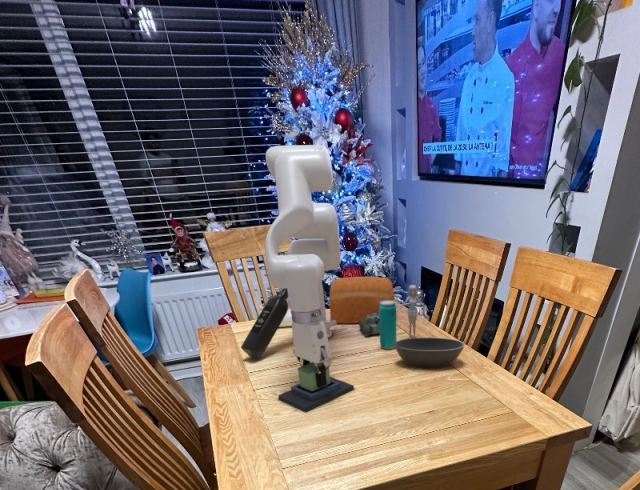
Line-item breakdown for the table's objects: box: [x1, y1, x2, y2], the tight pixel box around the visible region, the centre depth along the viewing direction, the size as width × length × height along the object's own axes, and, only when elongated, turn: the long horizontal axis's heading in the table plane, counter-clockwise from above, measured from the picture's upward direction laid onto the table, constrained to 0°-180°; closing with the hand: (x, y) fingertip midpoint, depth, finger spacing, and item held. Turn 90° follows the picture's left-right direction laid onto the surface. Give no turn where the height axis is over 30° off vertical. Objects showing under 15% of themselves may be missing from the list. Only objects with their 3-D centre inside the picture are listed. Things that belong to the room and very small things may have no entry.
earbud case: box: [278, 308, 292, 328], centre depth 172 cm, size 10×13×5 cm
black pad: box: [277, 376, 355, 413], centre depth 122 cm, size 18×12×3 cm, turn 138°
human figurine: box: [396, 284, 430, 339], centre depth 151 cm, size 12×4×18 cm, turn 93°
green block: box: [297, 361, 331, 391], centre depth 119 cm, size 7×5×6 cm
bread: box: [329, 276, 395, 324], centre depth 172 cm, size 14×26×16 cm, turn 88°
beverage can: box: [379, 300, 398, 350], centre depth 146 cm, size 6×6×15 cm
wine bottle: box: [240, 288, 289, 360], centre depth 145 cm, size 6×6×30 cm
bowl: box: [394, 337, 465, 369], centre depth 136 cm, size 12×22×6 cm, turn 83°
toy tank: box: [358, 313, 380, 338], centre depth 162 cm, size 10×12×7 cm
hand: (315, 382), depth 120 cm, fingers closed on green block, 5 cm apart
